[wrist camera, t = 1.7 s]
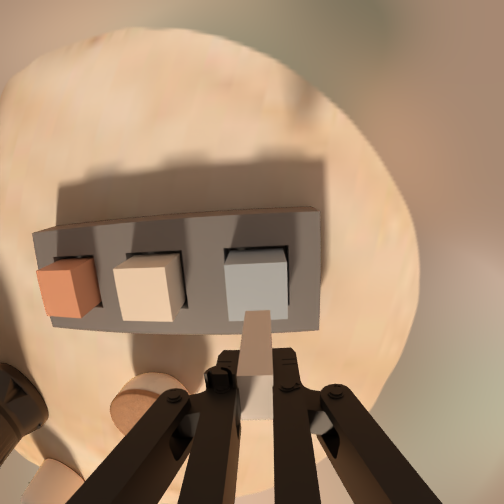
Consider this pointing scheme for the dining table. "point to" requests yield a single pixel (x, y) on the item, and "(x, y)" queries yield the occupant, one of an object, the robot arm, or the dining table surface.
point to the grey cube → (256, 283)
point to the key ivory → (150, 287)
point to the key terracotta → (69, 287)
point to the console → (193, 264)
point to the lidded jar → (139, 398)
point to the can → (52, 484)
